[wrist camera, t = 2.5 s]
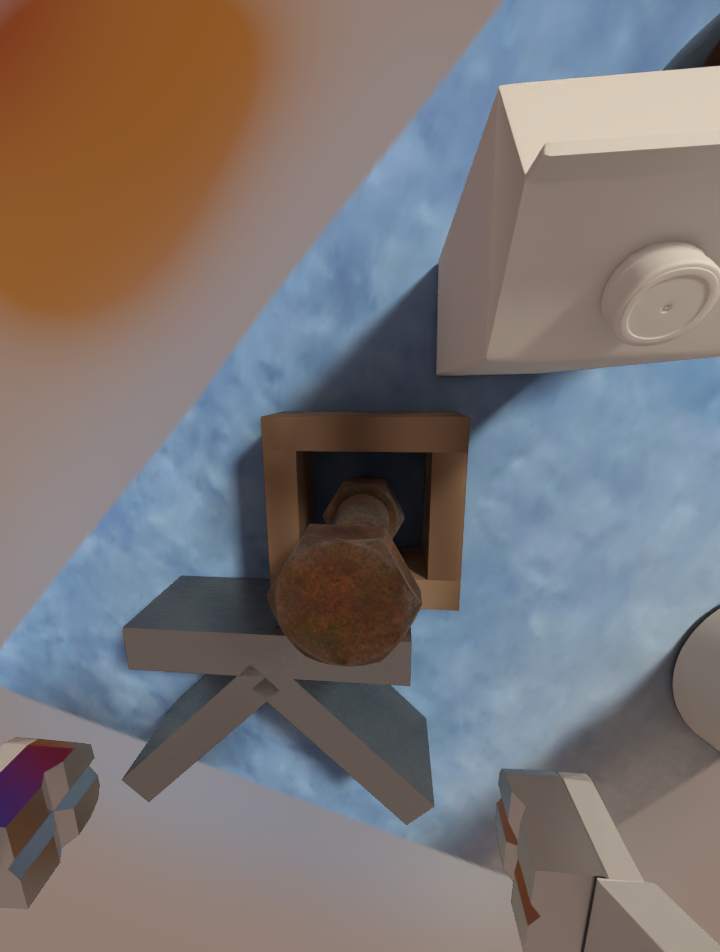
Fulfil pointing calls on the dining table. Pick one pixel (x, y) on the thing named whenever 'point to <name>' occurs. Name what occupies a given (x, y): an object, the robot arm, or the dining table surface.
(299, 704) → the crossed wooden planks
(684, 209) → the milk carton
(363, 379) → the dining table surface
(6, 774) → the robot arm
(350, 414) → the bore block
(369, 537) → the bolt
